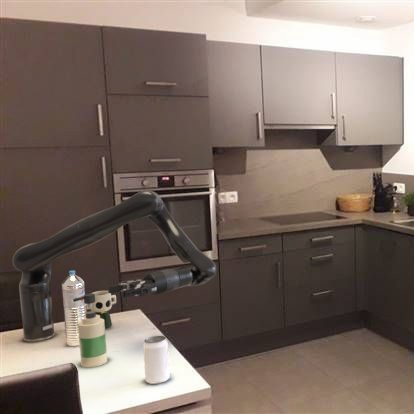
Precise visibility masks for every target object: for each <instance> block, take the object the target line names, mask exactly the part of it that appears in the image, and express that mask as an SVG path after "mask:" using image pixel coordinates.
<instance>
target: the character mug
mask: <svg viewBox="0 0 414 414" xmlns="http://www.w3.org/2000/svg"><path fill="white" fill-rule="evenodd" d="M92 293H93V294H95V302H94V303H92V308H88V304H86V308H87V309H86V310H90V311H96V315H100V318H102V319H104V322H105V328H110V327H112V325H113V322H112V317H111V313H110V311H111V309H112V307H113V305H116V304H117V296H116V294H113V295H112V293H111V294H110V293H108V290H98V291H94V292H92ZM112 299H113V300H112Z"/></svg>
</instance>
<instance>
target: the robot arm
mask: <svg viewBox="0 0 414 414" xmlns="http://www.w3.org/2000/svg"><path fill="white" fill-rule="evenodd" d="M143 218H147V219H148V220H149V221H151V222H152V224H154V225H155V226H156V228H157V229H158V230H159V232H160V233H161V234H162V236H163V237H164V239H165V241H166V243H167V244H168V246H169V248H170V249H171V250H172V251H173V253H174V254H175V255H176V256H177V257H178V259H179V260H180V261H181V262H182V263H183V264H191V265H193V267H187V266H180V267H175V268H170V269H169V268H168V269H167V268H166V269H162V270H158V271H153V272H149V273H146V274H145V275H144V277H143V279H136V278H133V279H129V280H123V281H119V282H117V283H118V284H115V285H110V286H108V287H107V291H108V293H110V294H111V295H112V294H115V293H119V292H120V293H121V298H122V299H126V298H130V297H133V296H135V297H138V296H139V297H145V296H148V295H150V296H156V295H160V294H164V293H169V292H171V291H174V290H178V289H181V288H185V287H197V286H201V285H204V284H206V283H207V282H209V281H210V280H212V279H213V278H214V277H215V276H216V275H217V273H218V268H217V265H216V263H215V262H214V260H213V259H211V258H210V257H209V256H208V255H206V254H205V253H203V251H201V250H200V249H198V247H197V246H196V244H195V243H193V241H192V240H191V239H190V238H189V236H188V235H187V234H186V233H185V232H184V230H183V229H182V228H181V227H180V226H179V225H178V222H176V220H175V219H174V218H173V217H172V215H171V214H170V212H169V210H168V209H167V207H166V204H165V202H164V201H163V199H162V197H161V196H160V195H159V194H158V193H157V192H155V191H152V190H146V189H145V190H140V191H138V192H137V193H135V194H133V195H132V196H130V197H128V198H126V199H124V200H123V201H122V202H120V203H118V204H116V205H113V206H111V207H109V208H105V209H102V210H100V211H98V212H95V213H92V214H90V215H88V216H86V217H83V218H82V219H80V220H77V221H75V222H73V223H71V224H69V225H68V226H66V227H64V228H63V229H61V230H60V231H57V233H55V234H53V235H51V236H50V237H48V238H45V239H42V240H40V241H38V242H30V243H27V244H26V245H24V246H22V247H20V248H19V249H17V250H16V251H15V253H14V254H13V256H12V265H13V267H14V268H15V269H16V270H17V271H19V272H21V277H20V281H19V284H18V290H19V299H20V310H21V322H22V332H23V342H28V343H30V342H31V343H32V342H33V343H34V342H41V341H45V340H48V339H51V338H53V337H55V334H56V332H55V326H54V325H55V323H54V322H55V321H54V311H53V299H52V298H53V297H52V289H51V288H52V287H51V282H52V261H55V260H57V259H59V258H60V257H62V256H65V255H68V254H70V253H73V252H76V251H79V250H82V249H84V248H86V247H88V246H91V245H94V244H95V243H97V242H99V241H102V240H103V239H105V238H107V237H109V236H110V235H112V234H113V233H115V232H116V231H118V230H119V229H120V228H122V227H123V226H125V225H127V224H130V223H132V222H135V221H137V220H140V219H143Z"/></svg>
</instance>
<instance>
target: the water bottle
mask: <svg viewBox="0 0 414 414" xmlns="http://www.w3.org/2000/svg"><path fill="white" fill-rule="evenodd" d="M85 286H86V284H85V280H83V278H82V277H80V276H78V275H77V274H76V270H69V271H68V276H67V277H66V278H65V279H64V280H63V281H62V282H61V290H62V303H63V320H64V330H65V341H66V345H67V346H69V347H80V344H79V329H78V323H79V322H81V321H82V318H83V317H85V316H86V312H88V309H87V308H86V304H85V303H84V300H79V301H73V299H74V298H79V297H83V296H84V295H85V294H86V290H85V289H86V288H85Z"/></svg>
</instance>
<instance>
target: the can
mask: <svg viewBox="0 0 414 414" xmlns="http://www.w3.org/2000/svg"><path fill="white" fill-rule="evenodd" d="M142 347H143V363H144V377H145V379H144V380H145V382H146V383H147V384H150V385H159V384H163V383H165V382H167V381H168V380H169V379H170V377H171V376H170V375H171V373H170V358H169V357H170V356H169V344H168V340H167V337H166V335H153V336H149V337H147V338H145V339H144V343H143V346H142Z"/></svg>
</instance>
